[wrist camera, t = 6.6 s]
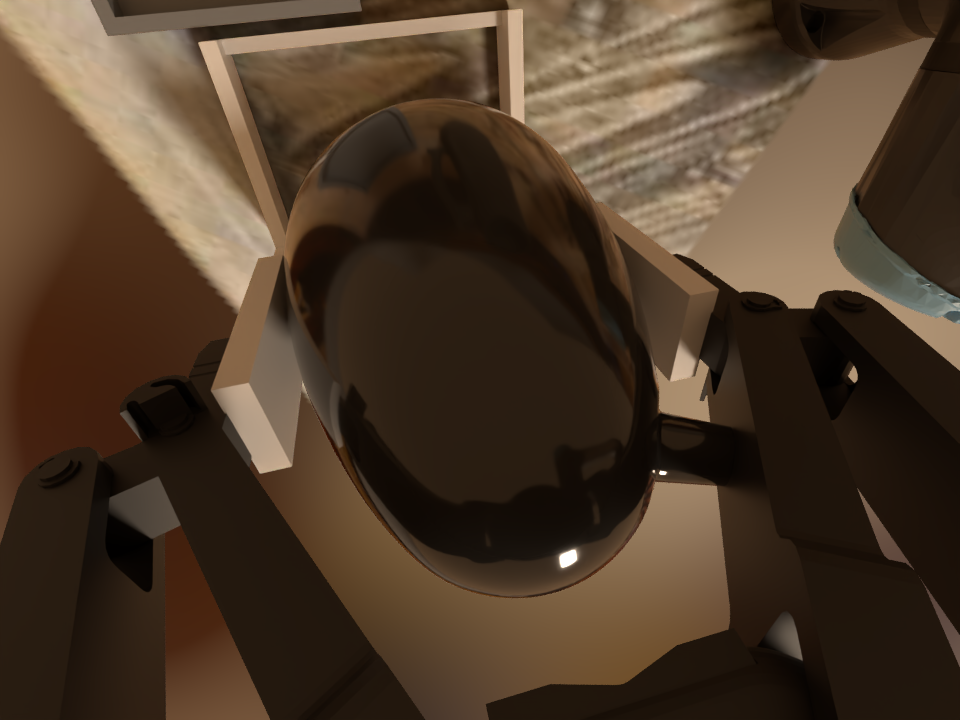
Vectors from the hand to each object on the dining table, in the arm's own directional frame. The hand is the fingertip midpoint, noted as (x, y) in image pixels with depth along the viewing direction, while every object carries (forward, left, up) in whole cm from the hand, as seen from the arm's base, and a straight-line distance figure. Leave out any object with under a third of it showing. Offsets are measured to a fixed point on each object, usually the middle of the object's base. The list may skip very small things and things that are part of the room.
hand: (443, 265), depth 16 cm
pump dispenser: (0, 0, -4) cm, 4 cm away
